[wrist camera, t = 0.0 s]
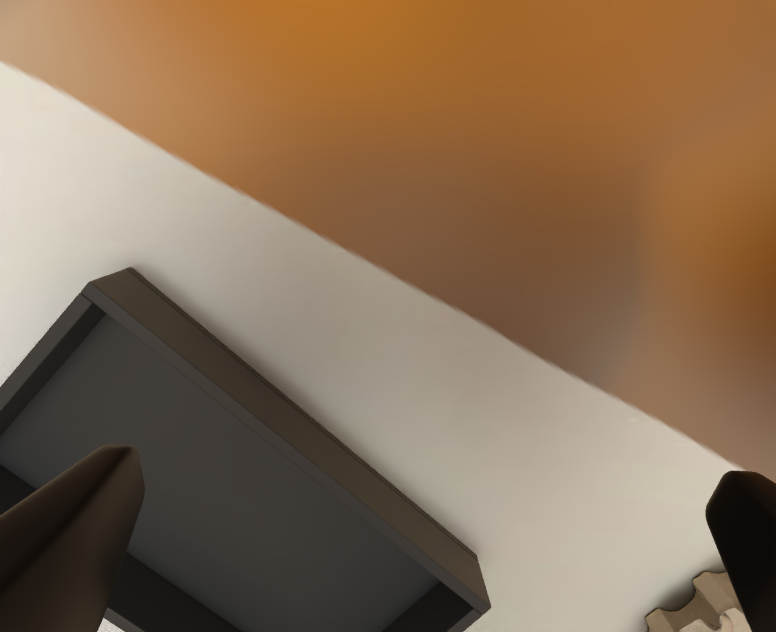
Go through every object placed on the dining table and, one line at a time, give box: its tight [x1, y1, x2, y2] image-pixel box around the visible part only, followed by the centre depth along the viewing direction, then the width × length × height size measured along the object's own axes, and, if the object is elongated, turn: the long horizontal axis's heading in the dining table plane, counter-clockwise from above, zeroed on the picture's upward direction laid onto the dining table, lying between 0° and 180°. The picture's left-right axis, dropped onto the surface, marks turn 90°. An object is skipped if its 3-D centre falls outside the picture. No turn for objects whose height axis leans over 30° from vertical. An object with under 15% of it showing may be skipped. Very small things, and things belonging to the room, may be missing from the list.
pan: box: [0, 267, 491, 632], centre depth 24 cm, size 12×22×3 cm, turn 46°
